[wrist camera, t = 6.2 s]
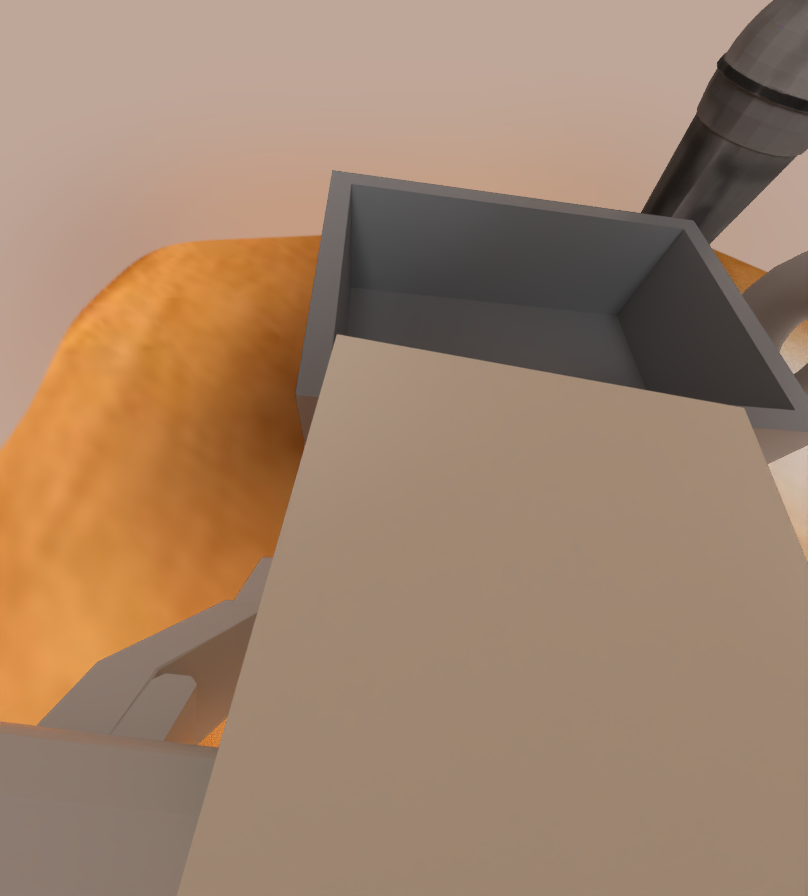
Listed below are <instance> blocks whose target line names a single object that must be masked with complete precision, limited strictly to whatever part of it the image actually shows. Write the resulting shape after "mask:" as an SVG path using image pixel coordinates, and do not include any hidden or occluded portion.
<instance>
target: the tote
mask: <svg viewBox="0 0 808 896" xmlns="http://www.w3.org/2000/svg"><path fill="white" fill-rule="evenodd" d="M337 334H338V335H344V336H349V337H355V338H361V339H366V340H372V341H377V342H383V343H388V344H394V345H399V346H405V347H410V348H416V349H421V350H427V351H432V352H438V353H443V354H449V355H454V356H460V357H466V358H471V359H477V360H482V361H488V362H493V363H499V364H504V365H510V366H515V367H521V368H526V369H532V370H537V371H543V372H548V373H554V374H560V375H565V376H571V377H576V378H582V379H587V380H593V381H598V382H604V383H609V384H615V385H620V386H626V387H631V388H637V389H642V390H648V391H653V392H659V393H665V394H670V395H676V396H681V397H687V398H692V399H698V400H703V401H709V402H714V403H720V404H725V405H731V406H736V407H742V408H744V409H745V411H746V414H747V416H748V418H749V421H750V423H751V426H752V428H753V431H754V433H755V436H756V438H757V440H758V443H759V445H760V448H761V450H762V453H763V455H764V457H765V460H766V462H767V464H769V463H771V462H773V461H775V460H777V459H779V458H782V457H784V456H786V455H788V454H790V453H792V452H794V451H796V450H798V449H801V448H803V447H805V446H807V445H808V396H807V395H806V393H805V392H804V390H803V388H802V387H801V385H800V384H799V382H798V381H797V379H796V378H795V376H794V375H793V373H792V371H791V370H790V368H789V367H788V365H787V364H786V362H785V361H784V359H783V358H782V356H781V354H780V353H779V351H778V350H777V348H776V347H775V345H774V344H773V342H772V341H771V339H770V338H769V336H768V334H767V333H766V331H765V330H764V328H763V327H762V325H761V324H760V322H759V321H758V319H757V317H756V316H755V314H754V313H753V311H752V310H751V308H750V307H749V305H748V304H747V302H746V301H745V299H744V297H743V296H742V294H741V293H740V291H739V290H738V288H737V287H736V285H735V284H734V282H733V280H732V279H731V277H730V276H729V274H728V273H727V271H726V270H725V268H724V267H723V265H722V263H721V262H720V260H719V259H718V257H717V256H716V254H715V253H714V251H713V250H712V248H711V247H710V245H709V243H708V242H707V240H706V239H705V237H704V236H703V234H702V233H701V231H700V230H699V228H698V226H697V225H696V223H695V222H694V221H693V220H686V219H679V218H671V217H664V216H657V215H650V214H643V213H636V212H628V211H621V210H614V209H607V208H599V207H593V206H585V205H578V204H570V203H563V202H557V201H549V200H542V199H535V198H528V197H520V196H513V195H506V194H499V193H492V192H485V191H478V190H470V189H463V188H456V187H449V186H442V185H435V184H427V183H420V182H413V181H406V180H399V179H391V178H383V177H376V176H369V175H362V174H356V173H348V172H341V171H334V170H333V171H332V177H331V182H330V188H329V194H328V200H327V206H326V213H325V219H324V224H323V231H322V236H321V242H320V248H319V254H318V260H317V266H316V272H315V278H314V284H313V290H312V296H311V302H310V308H309V314H308V321H307V327H306V333H305V339H304V345H303V351H302V357H301V363H300V369H299V375H298V381H297V387H296V393H295V397H296V402H297V407H298V413H299V418H300V423H301V428H302V433H303V438H304V443H305V444H306V441H307V437H308V434H309V430H310V427H311V423H312V420H313V416H314V413H315V409H316V406H317V402H318V399H319V395H320V392H321V388H322V385H323V381H324V378H325V374H326V371H327V367H328V364H329V360H330V357H331V353H332V350H333V346H334V343H335V339H336V335H337Z"/></svg>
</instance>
